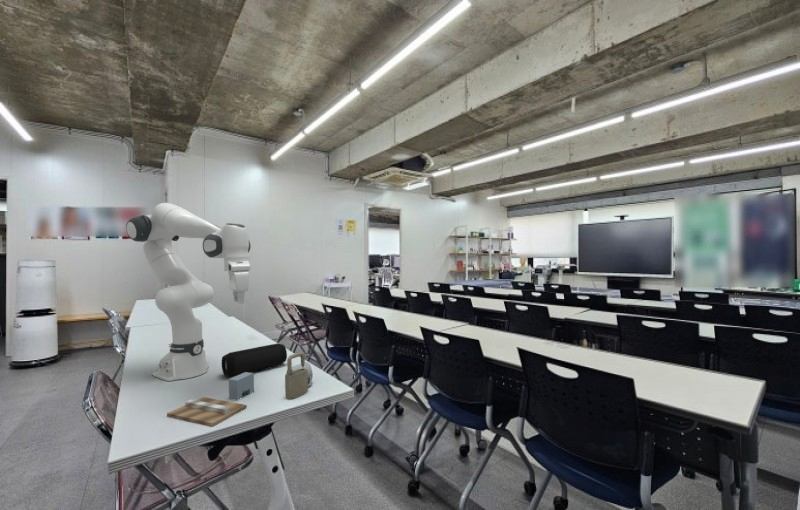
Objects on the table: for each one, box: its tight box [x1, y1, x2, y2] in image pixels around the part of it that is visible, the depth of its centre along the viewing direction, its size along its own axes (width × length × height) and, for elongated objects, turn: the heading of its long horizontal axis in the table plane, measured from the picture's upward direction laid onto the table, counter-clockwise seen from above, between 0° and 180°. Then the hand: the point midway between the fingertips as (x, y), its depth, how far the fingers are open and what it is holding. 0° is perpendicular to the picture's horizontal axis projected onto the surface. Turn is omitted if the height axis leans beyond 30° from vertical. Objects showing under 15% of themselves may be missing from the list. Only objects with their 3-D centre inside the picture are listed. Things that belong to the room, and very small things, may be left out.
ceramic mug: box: [285, 361, 314, 388], centre depth 135 cm, size 11×8×8 cm
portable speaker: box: [221, 343, 288, 378], centre depth 153 cm, size 26×10×10 cm, turn 132°
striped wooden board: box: [166, 396, 248, 428], centre depth 113 cm, size 20×13×2 cm, turn 68°
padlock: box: [284, 351, 309, 400], centre depth 125 cm, size 4×8×15 cm, turn 146°
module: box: [228, 372, 255, 401], centre depth 126 cm, size 4×8×7 cm, turn 158°
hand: (238, 302), depth 130 cm, fingers open, 8 cm apart
